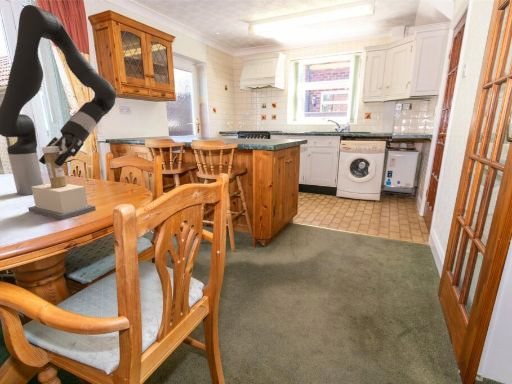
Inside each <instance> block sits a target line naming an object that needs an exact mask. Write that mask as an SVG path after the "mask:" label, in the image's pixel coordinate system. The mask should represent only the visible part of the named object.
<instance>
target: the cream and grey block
mask: <svg viewBox="0 0 512 384" xmlns="http://www.w3.org/2000/svg"><path fill="white" fill-rule="evenodd" d="M32 192H33V194H32V196H33V200H34V206H33V205H32V206H29V207H28V208H27V209H28V212H29V213H33V214H37V215H41V216H45V217H49V218H52V219H56V220H60V221H64V220H68V219H71V218H75V217H76V216H78V217H79V216H81V215H85V214H87V213H92V212H94V211H96V210H97V209H96V206H95V205H91V204H88V203H89V202H88V197H87V191H86V187H85V186H83V185H76V184H70V183H67V185H66V186H63V187H56V188H54V187H51V182H50V183H45V184H44V183H43V185H38V186H33V187H32Z"/></svg>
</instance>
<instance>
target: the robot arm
mask: <svg viewBox="0 0 512 384" xmlns="http://www.w3.org/2000/svg"><path fill="white" fill-rule="evenodd" d="M42 38H43V39H45V40H50V41H51V42H52V43H53V44H54V45H55V46H56V47H57V48H58V49H59V50H60V51H61V53H62V54H63V56H64V60H65V64H66V65H67V67H68V68H69V70H70V71H71V73H72V74H73V75H74V76H75V78H76V79H77V80H78V81H79V82H80V84H81V85H83V87H85V88H90V90H91V89H92V92H93V93H94V96H93V98H92V99H91V101H86V102H85V103H83V104H82V105H81V107H79V108H78V110H77V111H76V112H75V113H74V114H73V115H72V116H71V117H70V118H69V119H68V120H67V122H66V123H64V125H62V127H61V128H60V131H59V132H60V134H61V137H59V138H57V137H56V136H54V137H53V138H52V139H50V141H49V142H48V144H46V146H45V147H49V146H58V147H59V149H60V152H59V153H60V155H59V156H58V157H57V159H56V160H55V161H54V163H55V164H56V165H58V166H62V165H63V166H64V163H65V162H66V161H67V160H68V159H70V158H71V157H72V158H74V157H75V156H77V154H78V153H79V151H80V149H82V147H83V146H84V142H85V141H86V140H87V139H88V138H89V136H90V135H91V134H92V133H93V132H94V130H95V128H96V127H97V125H98V124H99V123H100V121H101V120H102V119H103V117H104V116H105V115H107V114H108V113H109V112H110V111H111V110H112V109H113V107H114V106H115V103H116V97H117V93H116V92H117V91H116V90H115V88H114V86H113V85H112V84H111V83H110V82H109V81H108V80H106V79H105V78H104V77H103V76H102V75H100V74H99V73H98V72H97V71H96V69H95V68H94V66H92V65H91V63H90V62H89V61H88V60H87V58H86V57H85V56H84V55H83V54H82V52H81V51H80V49H79V47H78V46H77V45H76V44H75V42H74V40H73V39H72V37H71V36H70V34H69V33H68V31H67V29H66V28H65V25H63V23H62V21H61V20H60V19H59V18H58V16H56V14H54V13H52V12H50V11H47V9H43V8H41V7H38V6H36V5H32V4H27V5H25V6H24V7H22V9H21V11H20V13H19V19H18V28H17V37H16V44H15V49H14V55H13V59H12V63H11V67H10V70H9V74H8V80H7V83H6V84H7V85H6V89H5V91H4V96H3V99H2V101H1V104H0V136H2V137H5V138H17V140H16V142H15V143H13V144H11V145H9V146H7V148H6V151H7V155H8V159H9V163H10V167H11V171H12V176H13V180H14V184H15V189H16V193H17V195H19V196H26V195H33V192H32V187H33V186H38V185H44V180H43V177H42V176H43V175H42V171H41V166H40V163H41V164H43V165H46V162H45V157H44V154H42V156H41V157H40V158H39V156H38V151H37V149H38V140H37V133H36V126H35V124H34V121H33V120H32V118H31V117H30V116H28V115H27V114H22V113H21V111H22V109H23V108H24V106H25V105H26V104H28V102H30V101H31V100H32V99H33V98H34V97H35V96H36V95H37V94H39V91H40V89H41V86H42V83H43V79H44V70H43V66H42V64H41V60H40V58H39V47H40V42H41V39H42Z"/></svg>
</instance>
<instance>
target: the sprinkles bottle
mask: <svg viewBox="0 0 512 384" xmlns="http://www.w3.org/2000/svg"><path fill="white" fill-rule="evenodd" d="M41 151H42V153H43V155H44V157H45V162H46V164H45V167H46V171H47V174H48V175H47V176H48V178H49V181H50V183H51V187H54V188H56V187H63V186H66V185H67V184H68V183H67V180H66V174H65V170H64V164H63V165H62V166H58V165H56V164H55V163H54V161H55V160H56V159H57V157H58V156H59V155H60V154H61V153H59V152H60V149H59V147H58V146H49V147H46V146H43V147H41Z"/></svg>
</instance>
